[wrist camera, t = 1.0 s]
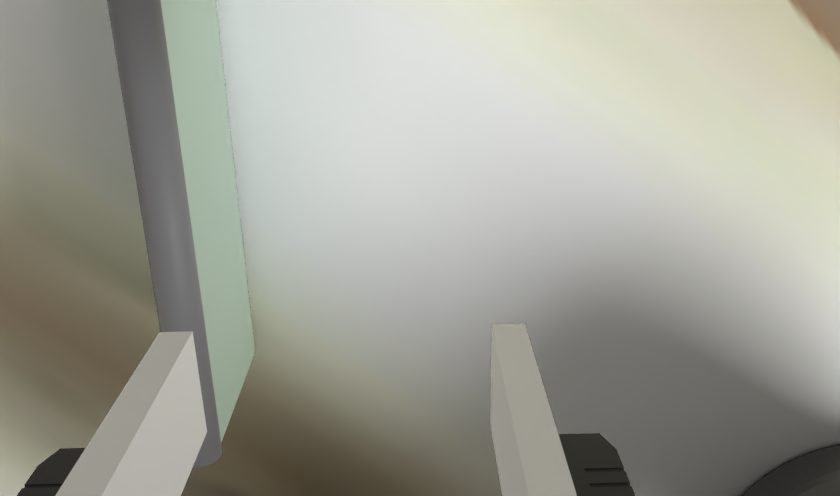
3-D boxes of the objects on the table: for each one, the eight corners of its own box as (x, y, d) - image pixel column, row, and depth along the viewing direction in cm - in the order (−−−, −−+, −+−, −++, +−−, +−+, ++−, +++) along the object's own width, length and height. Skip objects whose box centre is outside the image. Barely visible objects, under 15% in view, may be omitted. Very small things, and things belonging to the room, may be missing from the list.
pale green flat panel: (168, -110, 31) (78, -128, 23) (208, -111, 31) (132, -130, 23) (227, 352, 39) (176, 467, 30) (259, 352, 39) (217, 467, 30)
